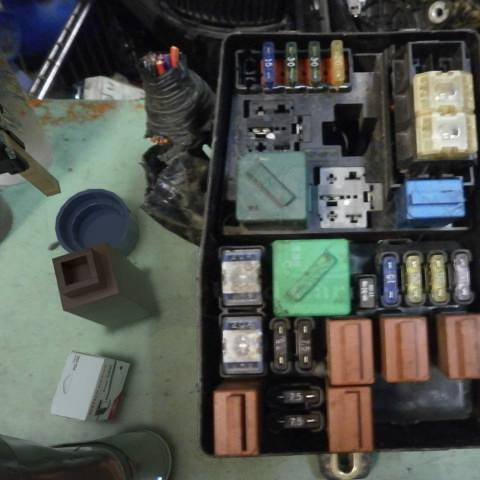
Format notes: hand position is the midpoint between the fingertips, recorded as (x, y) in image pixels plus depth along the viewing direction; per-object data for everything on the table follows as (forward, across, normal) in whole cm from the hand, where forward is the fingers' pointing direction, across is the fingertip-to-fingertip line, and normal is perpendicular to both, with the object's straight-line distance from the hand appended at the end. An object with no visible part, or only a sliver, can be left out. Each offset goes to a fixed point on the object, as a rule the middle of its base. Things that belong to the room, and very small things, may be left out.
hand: (18, 159), depth 61 cm
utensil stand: (+28, +12, +1) cm, 31 cm away
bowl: (+28, 0, 0) cm, 28 cm away
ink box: (+29, +24, -5) cm, 38 cm away
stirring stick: (+9, 0, 0) cm, 9 cm away
